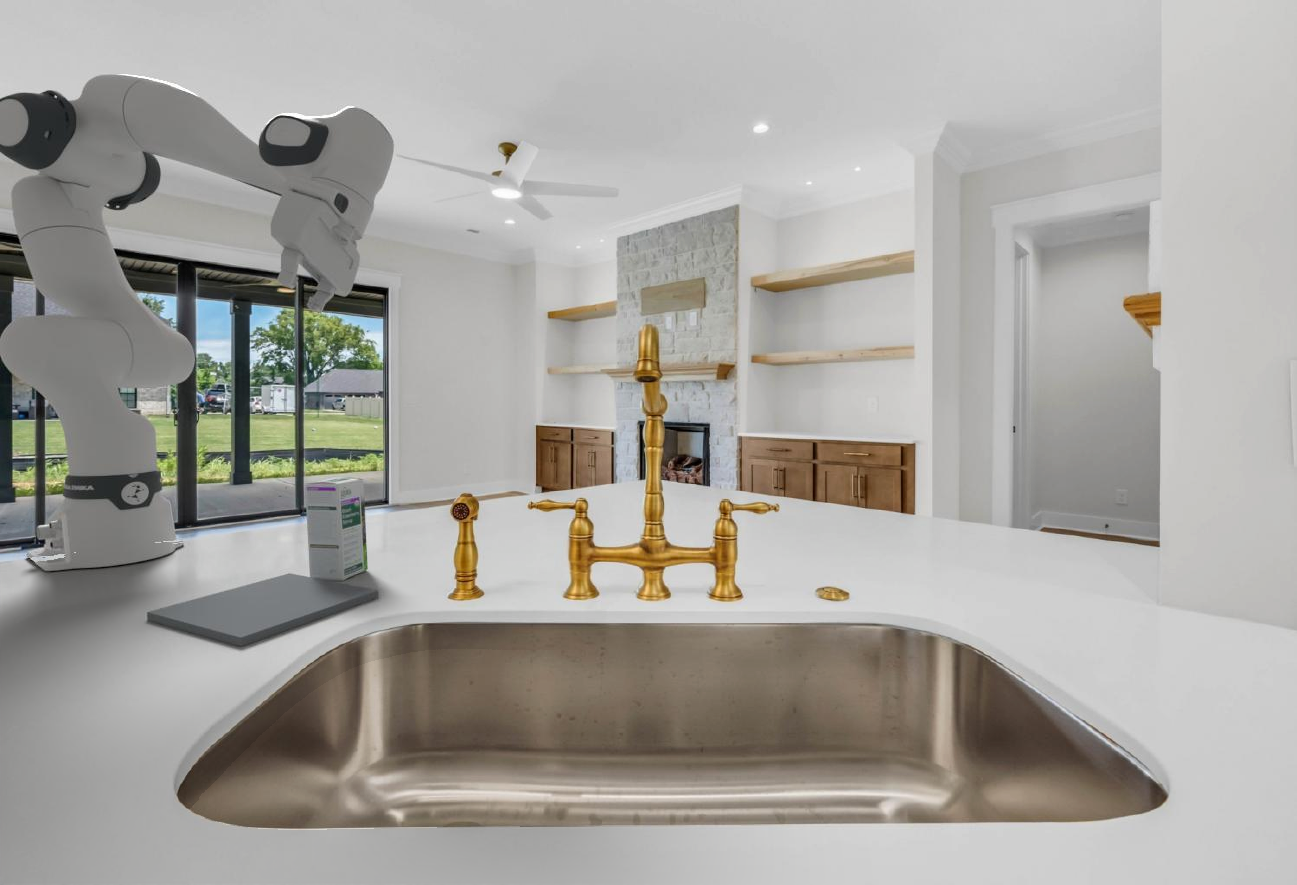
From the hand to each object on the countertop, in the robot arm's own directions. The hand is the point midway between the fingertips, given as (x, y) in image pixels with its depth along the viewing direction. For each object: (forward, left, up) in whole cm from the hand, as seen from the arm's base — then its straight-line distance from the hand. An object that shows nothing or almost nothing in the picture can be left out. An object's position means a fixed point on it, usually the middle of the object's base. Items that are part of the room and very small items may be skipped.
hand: (300, 298), depth 88 cm
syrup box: (+3, +3, -41) cm, 41 cm away
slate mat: (+8, -11, -41) cm, 43 cm away
